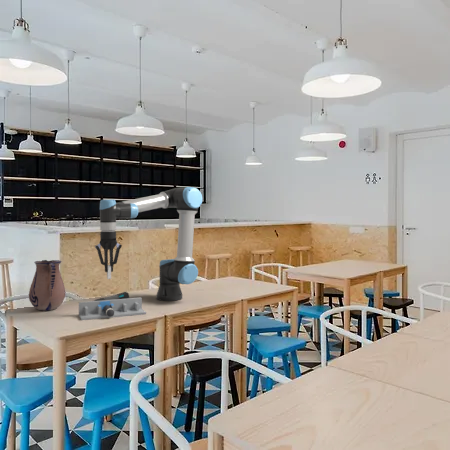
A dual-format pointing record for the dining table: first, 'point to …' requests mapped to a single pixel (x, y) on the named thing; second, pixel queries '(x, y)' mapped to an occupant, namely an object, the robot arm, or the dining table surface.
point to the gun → (115, 297)
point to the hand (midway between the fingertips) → (109, 278)
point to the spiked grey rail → (118, 305)
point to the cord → (108, 310)
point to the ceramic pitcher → (47, 286)
